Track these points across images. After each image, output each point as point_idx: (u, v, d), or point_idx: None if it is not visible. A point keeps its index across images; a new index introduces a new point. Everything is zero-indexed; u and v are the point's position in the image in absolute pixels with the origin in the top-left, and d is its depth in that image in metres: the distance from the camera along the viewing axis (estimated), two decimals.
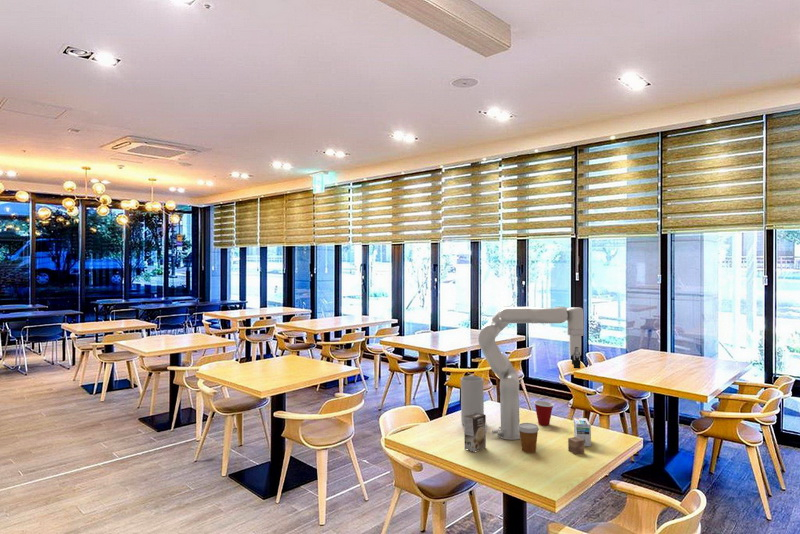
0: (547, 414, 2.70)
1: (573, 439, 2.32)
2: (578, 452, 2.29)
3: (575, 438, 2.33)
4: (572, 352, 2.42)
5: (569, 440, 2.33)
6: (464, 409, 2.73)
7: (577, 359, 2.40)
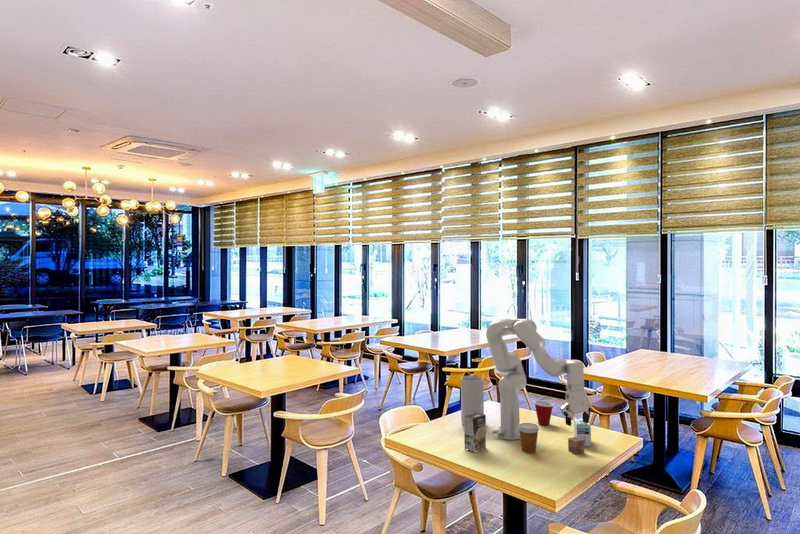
0: (547, 414, 2.70)
1: (573, 439, 2.32)
2: (578, 452, 2.29)
3: (575, 438, 2.33)
4: None
5: (569, 440, 2.33)
6: (464, 409, 2.73)
7: None
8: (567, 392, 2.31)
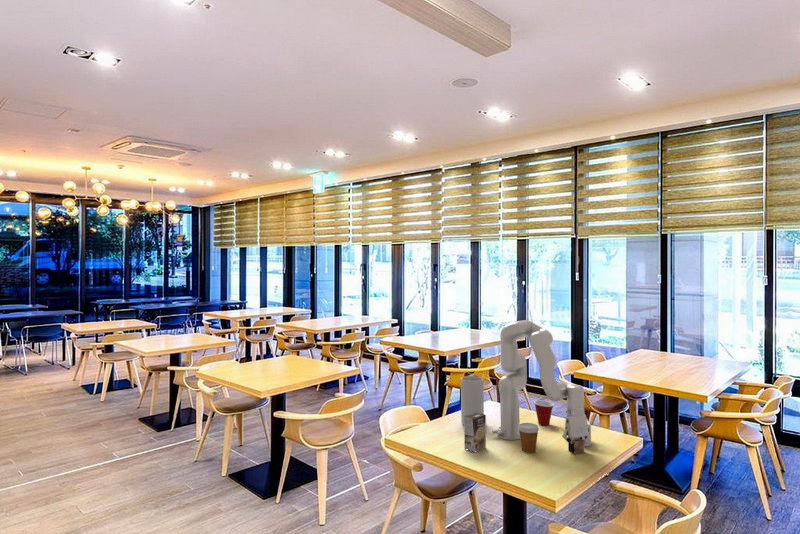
0: (547, 414, 2.70)
1: None
2: (578, 452, 2.29)
3: (575, 438, 2.33)
4: None
5: None
6: (464, 409, 2.73)
7: None
8: (567, 417, 2.31)
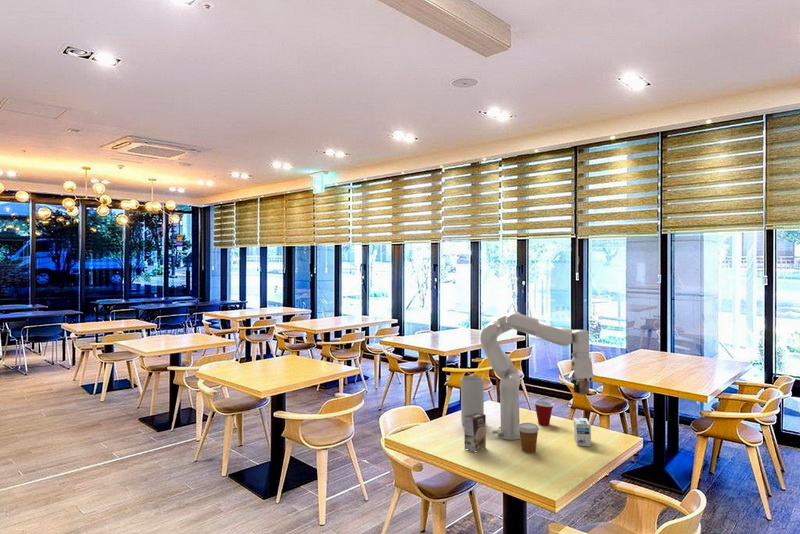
0: (547, 414, 2.70)
1: None
2: (583, 392, 2.41)
3: (580, 380, 2.45)
4: None
5: None
6: (464, 409, 2.73)
7: None
8: (573, 359, 2.43)
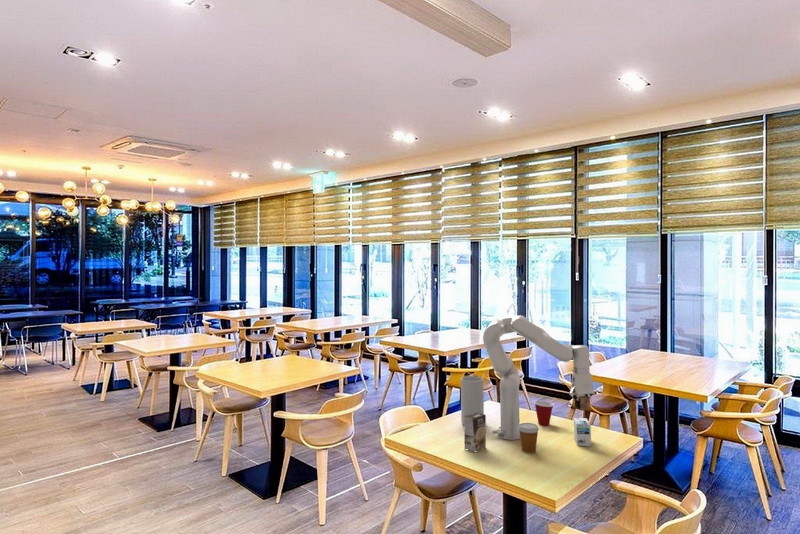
0: (547, 414, 2.70)
1: None
2: (584, 408, 2.42)
3: (581, 396, 2.45)
4: None
5: None
6: (464, 409, 2.73)
7: None
8: (573, 375, 2.43)
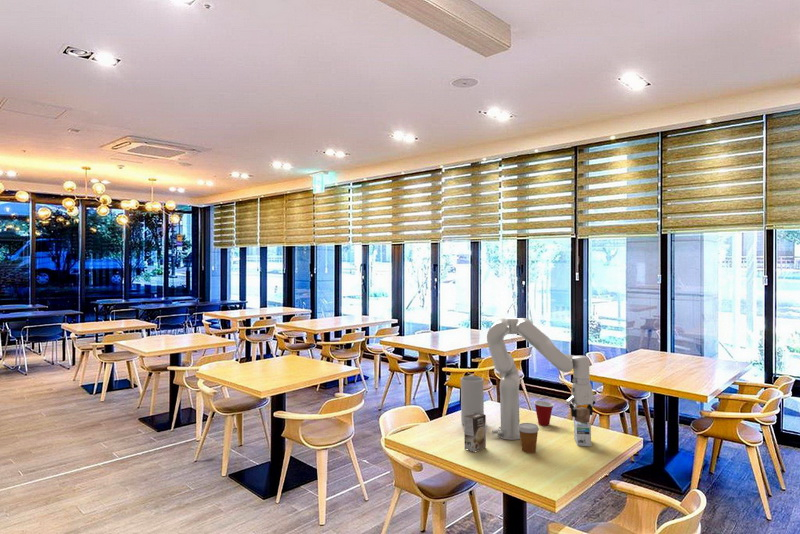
0: (547, 414, 2.70)
1: (579, 408, 2.44)
2: (584, 420, 2.42)
3: (581, 408, 2.45)
4: None
5: None
6: (464, 409, 2.73)
7: None
8: (573, 385, 2.43)
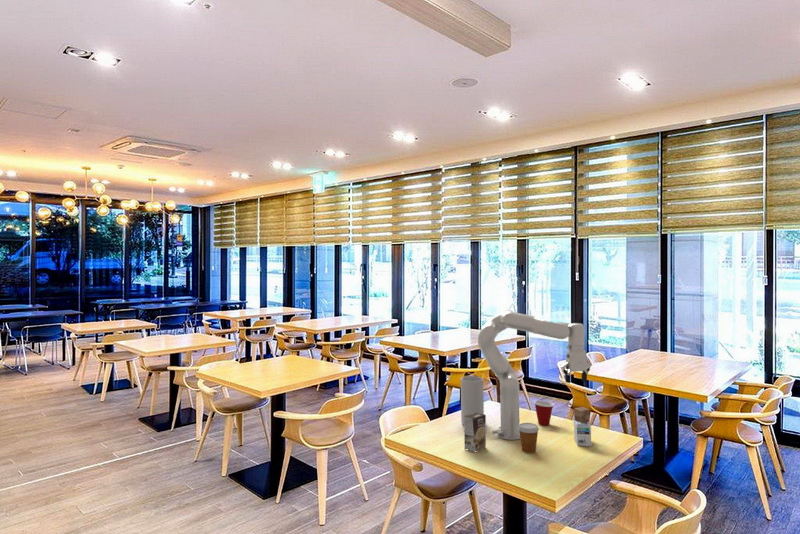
0: (547, 414, 2.70)
1: (579, 409, 2.44)
2: (584, 421, 2.42)
3: (581, 408, 2.45)
4: None
5: (575, 410, 2.45)
6: (464, 409, 2.73)
7: None
8: (568, 352, 2.48)
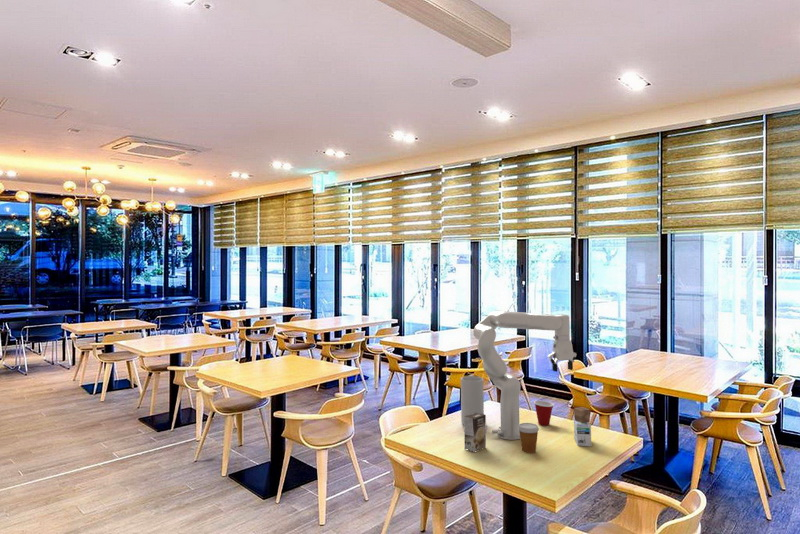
0: (547, 414, 2.70)
1: (579, 408, 2.44)
2: (584, 420, 2.42)
3: (581, 408, 2.45)
4: None
5: (575, 410, 2.45)
6: (464, 409, 2.73)
7: None
8: (554, 342, 2.60)
